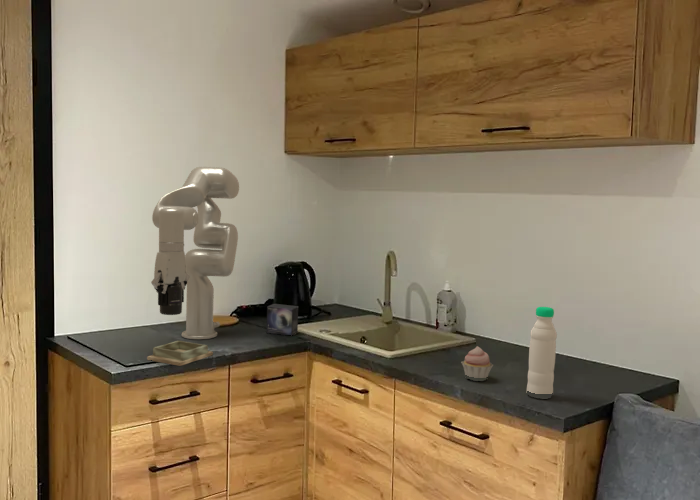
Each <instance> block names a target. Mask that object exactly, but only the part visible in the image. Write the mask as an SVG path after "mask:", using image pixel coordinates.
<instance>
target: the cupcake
mask: <svg viewBox="0 0 700 500" xmlns="http://www.w3.org/2000/svg"><path fill="white" fill-rule="evenodd" d="M460 363H461V365H462V367H463V370H464V371H463V372H464V376H465V375H467V376H469V377H474V378H486V377H488V378H489V375H490V371H491V369H492V368H493V366H494V364H492V362H490V356H489V354H488V353H487V352H485V351H484V350H483V349H482V348H481V347H479V346H478V345H477V346H476V347H475V348H473V349H471V350H470V351H468V353H467V354H466V355H465V357H464V360H463V361H461V362H460Z"/></svg>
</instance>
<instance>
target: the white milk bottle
mask: <svg viewBox="0 0 700 500" xmlns="http://www.w3.org/2000/svg"><path fill="white" fill-rule="evenodd" d="M535 316H536V321H535V323H534V324H533V327H532V328H531V329H530V341H529V351H528V371H527V385H526V392H527V391H529V392H531V393H535V394H552V393H553V394H554V379H555V373H554V371H555V364H556V351H557V349H556V348H557V345H556V343H557V337H558V334H557V331H556V328H555V326H554V323H553V319H554V316H555V310H554V308H553V307H550V306H549V307H548V306H538V307H537V308H536V309H535Z"/></svg>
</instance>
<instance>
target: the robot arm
mask: <svg viewBox="0 0 700 500" xmlns="http://www.w3.org/2000/svg"><path fill="white" fill-rule="evenodd" d="M239 192H240V182H239V180H238V178H237V177H236V175H235V174H233V173H232V172H231V171H230V170H228V169H227V168H224V167H220V166H219V167H215V166H198V167H196V168H193V169H192V170H191V171H190V173H189V175H188V176H187V178H186V179H185V181H184V183H183V185H182V186H181V187H179V188H177V189H174V190H173V191H170V192H168V193H166V194H165V195H163V196H162V197H160V199H159V200H158V202H157V204H156V205H155V207H154V209H153V211H152V216H151V219H152V223H153V225H154V226H155V227H156V228H158V251H157V252H156V257H155V262H154V270H153V271H154V273H153V276H154V277H153V279H152V281H151V285H152V286H153V288H154V290H155V291H156V293H157V305H158V306H159V307H160V306H167V293H166V290H167V287H168V285H170V284H173V282H174V280H175V277H178V276H179V284H180V285H181V286H182V303H184V301H185V290H186V310H185V311H186V314H185V317H186V318H185V323H186V324H185V330H184V331H182V332H181V337H182V338H185V339H188V340H189V339H190V340H209V339H213V338H217V336H218V332H217V331H216V330H215V328H219V327H220V326H221V323H220V321H214V295H215V294H214V291H215V290H214V286H213V283H212V282H211V280H210V279H209V277H222V278H223V277H230V275H232V273H233V271H234V266H235V261H236V254H237V249H238V239H239V233H238V228H237V227H236V226H235V225H234V224H232V223H227V222H226V223H225V222H221V217H222V212H221V209H220V207H219V206H218V205H217V203H216V202H215V201H214V200H213V199H229V200H231V199H232V200H233V199H235V198H236V197H237V196H238V195H239ZM195 207H196V208H197V210H196V209H195ZM193 229H194V232H193V243H194V245H195V246H196V247H198V248H194V249H193V248H192V249H191V250H188V251H187V252H186V253H185V251H184V250H185V248H184V247H185V241H184V240H185V239H184V237H185V231H190V230H193ZM162 286H163V288H162Z"/></svg>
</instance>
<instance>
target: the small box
mask: <svg viewBox="0 0 700 500" xmlns="http://www.w3.org/2000/svg"><path fill="white" fill-rule="evenodd" d="M298 324H299V305H290V304H288V305H287V304H282V303H281V304H279V303H272V304H270V305H268V306H266V334H269V333H271V334H270V335H277V334H281V335H280V336H285V335H291V336H290V337H292V335H293V336H295V335H296V334H295V333H297V332H298V331H299V330H298V328H299V325H298ZM294 334H295V335H294ZM297 334H298V333H297Z"/></svg>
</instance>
